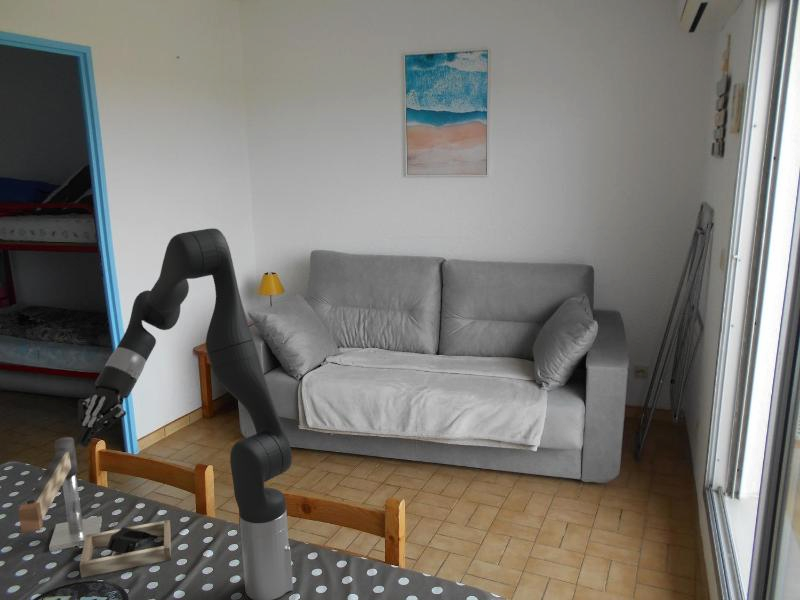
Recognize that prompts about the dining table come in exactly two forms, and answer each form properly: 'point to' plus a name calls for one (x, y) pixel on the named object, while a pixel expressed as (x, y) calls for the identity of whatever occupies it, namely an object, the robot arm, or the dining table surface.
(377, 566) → the dining table surface
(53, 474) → the bar
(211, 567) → the dining table surface
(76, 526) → the arm post
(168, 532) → the frame
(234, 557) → the dining table surface
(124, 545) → the power plug
